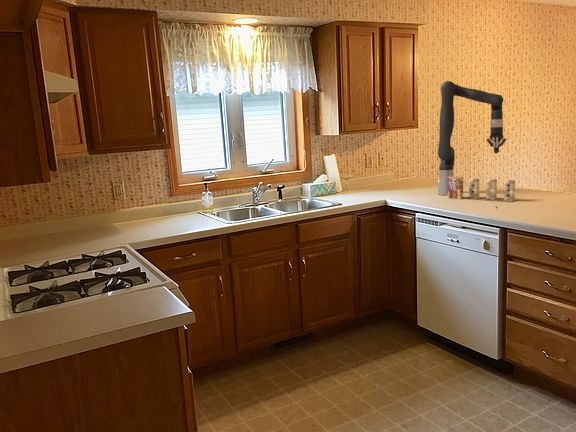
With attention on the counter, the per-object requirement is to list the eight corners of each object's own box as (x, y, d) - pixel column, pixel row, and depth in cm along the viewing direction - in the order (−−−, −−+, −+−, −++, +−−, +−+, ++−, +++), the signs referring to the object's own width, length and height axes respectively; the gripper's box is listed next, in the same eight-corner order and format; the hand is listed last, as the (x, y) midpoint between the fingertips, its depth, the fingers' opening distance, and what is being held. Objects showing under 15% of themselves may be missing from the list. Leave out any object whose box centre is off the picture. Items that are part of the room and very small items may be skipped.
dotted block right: (504, 200, 295) (504, 180, 293) (507, 199, 299) (507, 179, 296) (511, 201, 292) (512, 181, 290) (514, 200, 295) (515, 179, 293)
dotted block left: (469, 198, 311) (469, 179, 309) (472, 197, 314) (472, 178, 312) (475, 198, 308) (476, 179, 306) (479, 197, 311) (479, 178, 309)
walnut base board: (464, 201, 311) (464, 198, 310) (471, 198, 317) (471, 196, 317) (512, 204, 289) (512, 202, 289) (519, 202, 296) (519, 199, 296)
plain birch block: (486, 199, 303) (486, 179, 301) (489, 198, 306) (489, 178, 304) (493, 199, 300) (493, 180, 298) (496, 198, 303) (496, 179, 301)
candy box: (463, 200, 313) (463, 176, 310) (459, 201, 310) (459, 177, 307) (451, 199, 320) (451, 176, 317) (447, 200, 317) (447, 176, 314)
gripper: (484, 127, 322) (483, 153, 325) (504, 126, 312) (504, 153, 316) (489, 126, 327) (488, 152, 330) (509, 125, 317) (508, 152, 321)
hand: (496, 153), depth 323 cm, fingers closed
